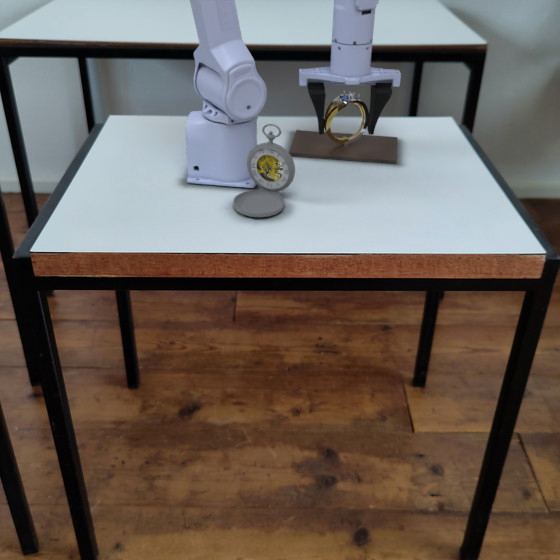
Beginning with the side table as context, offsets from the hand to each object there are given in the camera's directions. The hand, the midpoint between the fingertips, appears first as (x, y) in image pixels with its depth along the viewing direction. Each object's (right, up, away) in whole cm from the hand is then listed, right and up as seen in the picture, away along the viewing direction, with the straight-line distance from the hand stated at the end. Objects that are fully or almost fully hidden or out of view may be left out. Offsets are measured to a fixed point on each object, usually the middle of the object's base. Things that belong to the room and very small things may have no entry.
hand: (345, 132), depth 105 cm
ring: (0, -2, +1) cm, 2 cm away
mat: (0, -2, +1) cm, 3 cm away
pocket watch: (-12, -13, -14) cm, 23 cm away
